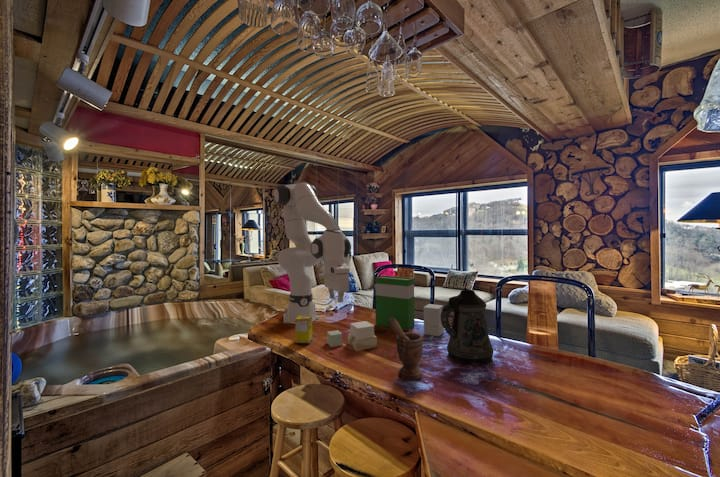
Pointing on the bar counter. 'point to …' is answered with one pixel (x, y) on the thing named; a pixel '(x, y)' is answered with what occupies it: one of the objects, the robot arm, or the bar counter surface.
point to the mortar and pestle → (408, 351)
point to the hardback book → (395, 301)
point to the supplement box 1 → (303, 329)
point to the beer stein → (467, 329)
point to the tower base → (362, 342)
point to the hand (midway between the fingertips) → (336, 300)
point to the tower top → (362, 330)
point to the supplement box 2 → (433, 320)
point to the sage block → (334, 338)
